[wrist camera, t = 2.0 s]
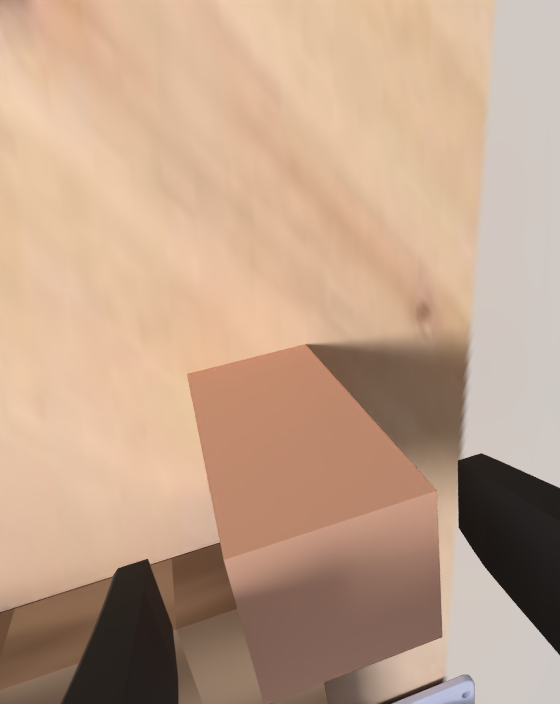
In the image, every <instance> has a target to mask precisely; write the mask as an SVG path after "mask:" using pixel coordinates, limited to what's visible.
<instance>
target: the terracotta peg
mask: <svg viewBox="0 0 560 704" xmlns="http://www.w3.org/2000/svg"><path fill="white" fill-rule="evenodd" d="M187 376H188V381H189V386H190V391H191V396H192V401H193V406H194V411H195V417H196V422H197V427H198V432H199V437H200V442H201V447H202V452H203V457H204V462H205V467H206V472H207V478H208V483H209V488H210V493H211V498H212V503H213V508H214V513H215V518H216V523H217V528H218V534H219V539H220V544H221V549H222V554H223V559H224V563H225V567H226V570H227V574H228V577H229V581H230V584H231V588H232V592H233V595H234V599H235V602H236V606H237V609H238V613H239V616H240V620H241V624H242V627H243V631H244V634H245V638H246V641H247V645H248V649H249V652H250V656H251V659H252V663H253V666H254V670H255V674H256V677H257V681H258V684H259V688H260V691H261V695H262V699H263V702H264V704H270V703H273V702H275V701H278V700H281V699H283V698H286V697H288V696H291V695H294V694H296V693H299V692H301V691H304V690H306V689H309V688H312V687H314V686H317V685H319V684H322V683H325V682H327V681H330V680H332V679H335V678H338V677H340V676H343V675H345V674H348V673H351V672H353V671H356V670H358V669H361V668H363V667H366V666H369V665H371V664H374V663H376V662H379V661H382V660H384V659H387V658H389V657H392V656H395V655H397V654H400V653H402V652H405V651H408V650H410V649H413V648H415V647H418V646H420V645H423V644H426V643H428V642H431V641H433V640H436V639H439V638H441V637H442V616H441V589H440V562H439V535H438V509H437V490H436V489H435V488H434V487H433V486H432V485H431V484H430V483H429V481H428V480H427V479H426V478H425V477H424V476H423V475H422V474H421V473H420V471H419V470H418V469H417V468H416V467H415V466H414V465H413V464H412V462H411V461H410V460H409V459H408V458H407V457H406V456H405V455H404V454H403V452H402V451H401V450H400V449H399V448H398V447H397V446H396V445H395V444H394V442H393V441H392V440H391V439H390V438H389V437H388V436H387V435H386V433H385V432H384V431H383V430H382V429H381V428H380V427H379V426H378V425H377V423H376V422H375V421H374V420H373V419H372V418H371V417H370V416H369V415H368V413H367V412H366V411H365V410H364V409H363V408H362V407H361V406H360V405H359V403H358V402H357V401H356V400H355V399H354V398H353V397H352V396H351V394H350V393H349V392H348V391H347V390H346V389H345V388H344V387H343V386H342V384H341V383H340V382H339V381H338V380H337V379H336V378H335V377H334V376H333V374H332V373H331V372H330V371H329V370H328V369H327V368H326V367H325V365H324V364H323V363H322V362H321V361H320V360H319V359H318V358H317V357H316V355H315V354H314V353H313V352H312V351H311V350H310V349H309V348H308V347H307V345H306V344H305V345H301V346H297V347H293V348H289V349H285V350H281V351H277V352H273V353H269V354H266V355H262V356H258V357H254V358H250V359H246V360H242V361H238V362H234V363H230V364H226V365H222V366H218V367H214V368H210V369H206V370H203V371H199V372H195V373H191V374H187Z"/></svg>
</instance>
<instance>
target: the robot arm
mask: <svg viewBox="0 0 560 704" xmlns="http://www.w3.org/2000/svg"><path fill="white" fill-rule="evenodd" d="M458 510H459V529H460V530H461V532H462V533H463V535H464V536H465V538H466V540H467V541H468V543H469V544H470V546H471V547H472V549H473V550H474V552H475V553H476V555H477V556H478V558H479V559H480V561H481V562H482V564H483V565H484V566H485V568H486V569H487V570H488V571H489V573H490V574H491V575H492V576H493V577H494V579H495V580H496V581H497V582H498V583H499V585H500V586H501V587H502V588H503V589H504V590H505V592H506V593H507V594H508V595H509V596H510V598H511V599H512V600H513V601H514V602H515V603H516V604H517V606H518V607H519V608H520V609H521V610H522V612H523V613H524V614H525V615H526V616H527V617H528V618H529V620H530V621H531V622H532V623H533V624H534V626H535V627H536V628H537V629H538V630H539V631H540V632H541V634H542V635H543V636H544V637H545V638H546V640H547V641H548V642H549V643H550V644H551V645H552V647H553V648H554V649H555V650H556V651H557V652H558V654H559V655H560V488H558V487H556V486H554V485H551V484H549V483H547V482H545V481H543V480H540V479H538V478H536V477H534V476H531V475H529V474H527V473H525V472H522V471H521V470H518V469H516V468H514V467H511V466H510V465H507V464H505V463H503V462H501V461H498V460H496V459H493V458H491V457H489V456H486V455H484V454H478V455H474V456H471V457H468V458H465V459H462V460H459V461H458ZM60 704H179V693H178V671H177V662H176V652H175V644H174V635H173V627H172V624H171V621H170V618H169V615H168V613H167V610H166V607H165V604H164V602H163V599H162V596H161V594H160V591H159V588H158V585H157V583H156V580H155V577H154V574H153V572H152V569H151V566H150V564H149V561H148V559H146V560H143V561H140V562H137V563H133V564H130V565H127V566H124V567H121V568H118V569H117V571H116V572H115V574H114V576H113V579H112V582H111V585H110V587H109V590H108V593H107V596H106V598H105V601H104V604H103V606H102V609H101V611H100V614H99V616H98V619H97V621H96V624H95V626H94V629H93V631H92V634H91V636H90V639H89V641H88V643H87V646H86V648H85V650H84V653H83V655H82V657H81V659H80V662H79V664H78V666H77V669H76V671H75V673H74V676H73V678H72V680H71V682H70V684H69V687H68V689H67V691H66V693H65V695H64V697H63V699H62V701H61V703H60ZM392 704H474V681H473V680H472V678H471V677H470V676H469V675H461V676H459V677H456V678H454V679H451V680H449V681H446V682H444V683H441V684H439V685H436V686H434V687H432V688H429V689H427V690H424V691H422V692H419V693H417V694H414V695H412V696H409V697H407V698H404V699H402V700H399V701H397V702H394V703H392Z"/></svg>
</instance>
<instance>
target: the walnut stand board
mask: <svg viewBox="0 0 560 704" xmlns="http://www.w3.org/2000/svg"><path fill="white" fill-rule="evenodd" d="M150 566H151V569H152V572H153V574H154V577H155V580H156V583H157V585H158V588H159V591H160V594H161V596H162V599H163V602H164V604H165V607H166V610H167V613H168V615H169V618H170V621H171V624H172V627H173V635H174V644H175V652H176V662H177V671H178V693H179V704H264V702H263V699H262V695H261V691H260V688H259V684H258V681H257V677H256V674H255V670H254V666H253V663H252V659H251V656H250V652H249V649H248V645H247V641H246V638H245V634H244V631H243V627H242V624H241V620H240V616H239V613H238V609H237V606H236V602H235V599H234V595H233V592H232V588H231V584H230V581H229V577H228V574H227V570H226V567H225V563H224V559H223V554H222V549H221V544H220V543H219V544H216V545H213V546H209V547H206V548H203V549H200V550H197V551H194V552H191V553H187V554H184V555H181V556H178V557H175V558H172V559H169V560H165V561H162V562H159V563H156V564H153V565H150ZM112 579H113V577H112V578H109V579H106V580H103V581H100V582H96V583H93V584H90V585H87V586H84V587H81V588H78V589H74V590H71V591H68V592H65V593H62V594H59V595H56V596H52V597H49V598H46V599H43V600H40V601H37V602H34V603H30V604H27V605H24V606H21V607H18V608H15V609H12V610H8V611H5V612H2V613H0V704H60V703H61V701H62V699H63V697H64V695H65V693H66V691H67V689H68V687H69V684H70V682H71V680H72V678H73V676H74V673H75V671H76V669H77V666H78V664H79V662H80V659H81V657H82V655H83V653H84V650H85V648H86V646H87V643H88V641H89V639H90V636H91V634H92V631H93V629H94V626H95V624H96V621H97V619H98V616H99V614H100V611H101V609H102V606H103V604H104V601H105V598H106V596H107V593H108V590H109V587H110V585H111V582H112ZM270 704H328V701H327V696H326V691H325V685H324V683H322V684H319V685H317V686H314V687H312V688H309V689H306V690H304V691H301V692H299V693H296V694H294V695H291V696H288V697H286V698H283V699H281V700H278V701H275V702H273V703H270Z"/></svg>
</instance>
